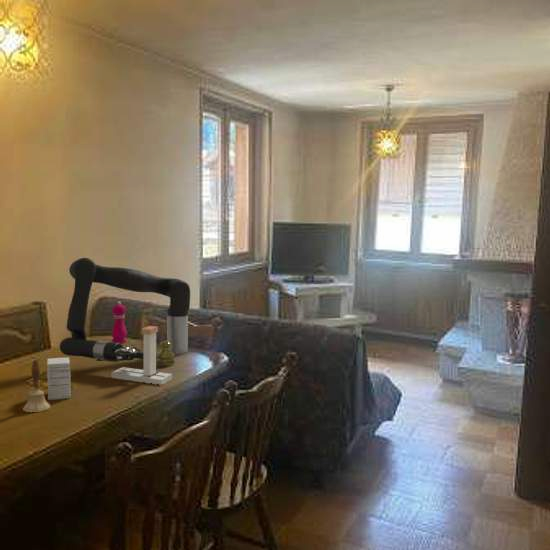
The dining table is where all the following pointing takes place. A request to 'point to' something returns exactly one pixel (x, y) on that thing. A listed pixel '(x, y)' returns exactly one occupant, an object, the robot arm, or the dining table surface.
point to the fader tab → (149, 349)
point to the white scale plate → (141, 376)
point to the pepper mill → (119, 324)
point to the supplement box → (58, 378)
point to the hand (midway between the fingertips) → (146, 356)
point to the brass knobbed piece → (165, 355)
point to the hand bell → (36, 393)
